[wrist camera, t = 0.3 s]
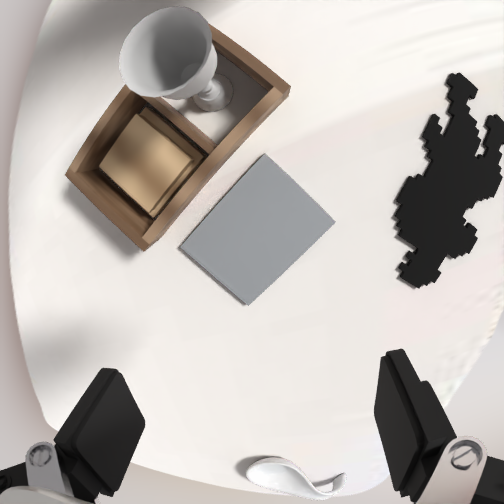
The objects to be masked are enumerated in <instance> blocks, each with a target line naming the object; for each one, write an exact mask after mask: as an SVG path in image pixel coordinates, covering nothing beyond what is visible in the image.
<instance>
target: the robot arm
mask: <svg viewBox="0 0 504 504" xmlns="http://www.w3.org/2000/svg"><path fill="white" fill-rule="evenodd" d="M374 416H375V420H376V424H377V427H378V430H379V434H380V438H381V441H382V445H383V448H384V452H385V456H386V460H387V463H388V467H389V471H390V475H391V479H392V483H393V487H394V490H395V491H400V494H401V497H405V496H408V495H409V496H410V500H411V501H412V502H414V504H504V461H503V460H500V459H496V458H493V457H489V456H487V450H486V447H485V445H484V444H483V443H482V442H481V441H480V440H479V439H477V438H475V437H471V436H462V437H458V438H457V436H456V434H455V432H454V430H453V428H452V426H451V424H450V422H449V420H448V418H447V416H446V414H445V412H444V410H443V408H442V406H441V404H440V402H439V400H438V398H437V396H436V394H435V392H434V390H433V388H432V387H431V385H430V383H429V382H428V381H422V382H421V381H420V379H419V377H418V376H417V374H416V372H415V370H414V368H413V366H412V364H411V362H410V360H409V358H408V357H407V355H406V353H405V351H404V350H403V349H398V350H392V351H387V352H386V355H385V356H383V357H381V361H380V370H379V378H378V385H377V393H376V399H375V406H374ZM144 428H145V419H144V417H143V415H142V413H141V412H140V410H139V408H138V406H137V404H136V402H135V400H134V398H133V396H132V394H131V392H130V390H129V388H128V386H127V384H126V382H125V379H124V377H123V375H122V374H121V373H119V371H118V370H117V369H112V368H102V369H101V370H100V371H99V372H98V374H97V375H96V377H95V378H94V380H93V381H92V383H91V384H90V385H89V387H88V388H87V390H86V391H85V393H84V394H83V396H82V397H81V399H80V400H79V402H78V403H77V405H76V406H75V408H74V409H73V411H72V412H71V414H70V415H69V417H68V418H67V420H66V421H65V423H64V424H63V426H62V427H61V429H60V430H59V432H58V434H57V435H56V437H55V438H54V442H55V443H56V444H55V446H53V445H52V444H50V443H48V442H39V443H37V444H35V445H33V446H32V447H31V448H30V449H29V450H28V452H27V454H26V462H24V463H21V464H18V465H16V466H13V467H10V468H7V469H4V470H1V471H0V504H100V502H99V499H98V494H99V492H100V493H101V494H103V495H107V496H110V497H113V495H114V492H115V491H117V490H118V489H119V487H120V485H121V483H122V480H123V478H124V475H125V473H126V470H127V468H128V466H129V463H130V461H131V458H132V456H133V454H134V451H135V449H136V447H137V444H138V442H139V439H140V437H141V435H142V432H143V430H144Z"/></svg>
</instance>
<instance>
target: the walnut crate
mask: <svg viewBox="0 0 504 504" xmlns="http://www.w3.org/2000/svg"><path fill="white" fill-rule="evenodd" d="M208 25H209V27H210V30H211V33H212V44H213V46H214V48H215V50H216V51H218V52H219V53H220V54H222V55H223V56H224V57H226V58H227V59H228V60H230V61H231V62H232V63H234V64H235V65H236V66H237V67H239V68H240V69H241V70H243V71H244V72H245V73H246V74H248V75H249V76H250V77H251V78H253V79H254V80H255V81H256V82H257V83H259V84H260V85H261V86H262V87H263V88H265V89H266V90H267V91H268V93H267V94H266V95H265V96H264V97H263V98H262V99H261V100H260V101H259V102H258V103H257V104H256V105H255V106H254V107H253V108H252V109H251V111H250V112H249V113H248V114H247V115H246V116H245V117H244V118H243V119H242V120H241V121H240V122H239V123H238V124H237V125H236V126H235V127H234V128H233V130H232V131H231V132H230V133H229V134H228V135H227V136H226V137H225V138H224V139H223V140H222V142H221V143H220V144H219V145H217V144H216V143H214V142H213V141H212V140H211V139H210V138H209V137H208V136H206V135H205V134H204V133H203V132H202V131H201V130H199V129H198V128H197V127H196V126H195V125H194V124H192V123H191V122H190V121H189V120H188V119H186V118H185V117H184V116H183V115H182V114H180V113H179V112H178V111H177V110H176V109H174V108H173V107H172V106H171V105H170V104H168V103H167V102H166V101H165V100H164V99H162V98H161V97H160V96H159V97H148V96H141V95H139V94H137V93H135V92H134V91H132V90H130V89H129V88H128V86H127V85H126V84H125V85H124V87H123V88H122V89H121V91H120V92H119V93H118V95H117V96H116V97H115V99H114V100H113V101H112V103H111V104H110V105H109V107H108V108H107V110H106V111H105V112H104V114H103V115H102V117H101V118H100V119H99V121H98V122H97V124H96V125H95V127H94V128H93V130H92V131H91V133H90V134H89V136H88V137H87V139H86V141H85V142H84V144H83V145H82V147H81V149H80V150H79V152H78V153H77V155H76V157H75V158H74V160H73V162H72V164H71V165H70V167H69V169H68V170H67V172H66V174H65V176H66V177H67V178H68V179H69V180H70V181H71V182H72V183H73V184H74V185H75V186H76V187H77V188H78V189H79V190H80V191H81V192H82V193H83V194H84V195H85V196H86V197H87V198H88V199H89V200H90V201H91V202H92V203H93V204H94V205H95V206H96V207H97V208H98V209H99V210H100V211H101V212H102V213H103V214H104V215H105V216H106V217H107V218H108V219H110V220H111V221H112V222H113V223H114V224H115V225H116V226H117V227H118V228H119V229H120V230H121V231H122V232H123V233H124V234H125V235H126V236H127V237H129V238H130V239H131V240H132V241H133V242H134V243H135V244H136V245H137V246H138V247H139V248H140V249H142V250H143V251H146V250H147V249H148V248H149V247H150V246H152V245H153V244H154V243H155V242H156V241H158V240H159V239H160V238H161V237H162V236H163V235H164V233H165V232H166V231H167V230H168V229H169V227H170V226H171V225H172V224H173V222H174V221H175V220H176V219H177V218H178V216H179V215H180V214H181V213H182V212H183V210H184V209H185V208H186V207H187V206H188V204H189V203H190V202H191V201H192V200H193V198H194V197H195V196H196V195H197V194H198V193H199V191H200V190H201V189H202V188H203V187H204V186H205V185H206V183H207V182H208V181H209V180H210V179H211V178H212V177H213V175H214V174H215V173H216V172H217V171H218V170H219V169H220V168H221V166H222V165H223V164H224V163H225V162H226V161H227V160H228V159H229V158H230V157H231V155H232V154H233V153H234V152H235V151H236V150H237V149H238V148H239V147H240V146H241V145H242V144H243V142H244V141H245V140H246V139H247V138H248V137H249V136H250V135H251V134H252V133H253V132H254V131H255V130H256V129H257V128H258V127H259V126H260V125H261V123H262V122H263V121H264V120H265V119H266V118H267V117H268V116H269V115H270V114H271V113H272V112H273V111H274V110H275V109H276V108H277V107H278V106H279V105H280V104H281V103H282V102H283V101H284V100H285V99H286V98H287V97H288V96H289V92H290V88H291V86H290V85H289V84H287V83H286V82H285V81H284V80H283V79H282V78H280V77H279V76H278V75H277V74H276V73H274V72H273V71H272V70H271V69H269V68H268V67H267V66H266V65H264V64H263V63H262V62H261V61H259V60H258V59H257V58H256V57H254V56H253V55H252V54H250V53H249V52H248V51H246V50H245V49H244V48H242V47H241V46H240V45H238V44H237V43H236V42H234V41H233V40H232V39H230V38H229V37H227V36H226V35H225V34H223V33H222V32H220V31H219V30H217V29H216V28H214V27H213V26H212V25H210V24H209V23H208ZM147 102H149V103H150V104H151V105H152V106H153V107H155V108H156V109H157V110H158V111H159V112H161V113H162V114H163V115H164V116H165V117H166V118H168V119H169V120H170V121H171V122H172V123H174V124H175V125H176V126H177V127H178V128H179V129H181V130H182V131H183V132H184V133H185V134H186V135H188V136H189V137H190V138H191V139H192V140H193V141H195V142H196V143H197V144H198V145H199V146H200V147H201V148H203V149H204V150H205V151H206V152H207V153H208V154H209V156H208V157H207V158H206V160H205V161H204V162H203V163H202V164H201V165H200V166H199V168H198V169H197V170H196V171H195V172H194V173H193V175H192V176H191V177H190V178H189V179H188V181H187V182H186V183H185V184H184V185H183V187H182V188H181V189H180V190H179V191H178V193H177V194H176V195H175V196H174V198H173V199H172V200H171V201H170V202H169V204H168V205H167V206H166V207H165V209H164V210H163V211H162V213H161V214H160V215H159V216H158V218H157V219H156V220H155V221H154V220H153V219H152V218H151V217H150V216H149V215H148V214H147V213H146V212H145V211H143V210H142V209H141V208H140V207H139V206H138V205H137V204H136V203H135V202H134V201H133V200H132V199H130V198H129V197H128V196H127V195H126V194H125V193H124V192H123V191H122V190H121V189H120V188H119V187H118V186H117V185H116V184H114V183H113V182H112V181H111V180H110V179H109V178H108V177H107V176H106V175H105V174H104V173H103V172H102V171H101V170H100V169H99V168H100V167H99V165H100V164H101V162H102V161H103V159H104V158H105V156H106V155H107V153H108V152H109V150H110V149H111V147H112V146H113V144H114V143H115V142H116V140H117V139H118V137H119V136H120V134H121V133H122V132H123V130H124V129H125V128H126V126H127V125H128V124H129V122H130V121H131V120H132V118H133V117H134V116H135V114H139V112H140V111H141V110H142V108H143V107H144V106H145V105H146V103H147Z"/></svg>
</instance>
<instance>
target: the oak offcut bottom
mask: <svg viewBox="0 0 504 504" xmlns="http://www.w3.org/2000/svg"><path fill="white" fill-rule="evenodd" d="M140 115H143V116H144V117H145V118H147V119H148V120H149V121H150V122H151V123H152V124H154V125H155V126H156V127H157V128H158V129H159V130H161V131H162V132H163V133H164V134H165V135H167V136H168V137H169V138H170V139H171V140H172V141H173V142H175V143H176V144H177V145H178V146H179V147H180V148H182V149H183V150H184V151H185V152H186V153H187V154H189V155H190V156H191V157H192V158H193V159H194V161H193V162H192V164H191V165H190V166H189V167H188V168H187V170H186V171H185V172H184V173H183V174H182V176H181V177H180V178H179V179H178V181H177V182H176V183H175V184H174V185H173V187H172V188H171V189H170V190H169V192H168V193H167V194H166V196H165V197H164V198H163V199H162V201H161V202H160V203H159V204H158V206H157V207H156V208H155V209H154V210H153V211H151V212H148V211H147V210H146V209H144V208H143V207H142V206H141V205H140V204H139V203H138V202H137V201H136V200H135V199H133V198H132V197H131V196H130V195H129V194H128V193H127V192H126V191H125V190H124V189H123V188H122V187H121V186H119V185H118V184H117V183H116V182H115V181H114V180H113V179H112V178H111V177H110V176H109V175H108V174H107V173H106V172H105V171H104V172H105V173H106V174H107V175H108V176H109V177H110V178H111V179H112V180H113V181H114V182H115V183H116V184H117V185H118V186H119V187H120V188H122V189H123V190H124V191H125V192H126V193H127V194H128V195H129V196H130V197H131V198H132V199H133V200H134V201H135V202H137V203H138V204H139V205H140V206H141V207H142V208H143V209H144V210H145V211H146V212H147V213H149V214H150V215H151V216H152V217H153V218H154V217H156V216H157V215H159V214H160V212H161V211H162V210H163V209H164V207H165V206H166V205H167V204H168V202H169V201H170V200H171V199H172V197H173V196H174V195H175V194H176V192H177V191H178V190H179V189H180V188H181V186H182V185H183V184H184V183H185V182H186V180H187V179H188V178H189V177H190V176H191V174H192V173H193V172H194V171H195V170H196V169H197V167H198V166H199V165H200V164H201V163H202V162H203V160H204V159H205V158H206V157H207V156H206V155H205V154H204V153H203V152H202V151H200V150H199V149H198V148H197V147H196V146H195V145H194V144H192V143H191V142H190V141H189V140H188V139H187V138H185V137H184V136H183V135H182V134H181V133H180V132H178V131H177V130H176V129H175V128H174V127H173V126H171V125H170V124H169V123H168V122H167V121H165V120H164V119H163V118H162V117H161V116H160V115H158V114H157V113H156V112H155V111H154V110H152V109H151V108H148V107H145V108H144V109H143V111H142V112H141V113H140ZM101 170H102V169H101Z"/></svg>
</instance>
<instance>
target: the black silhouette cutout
mask: <svg viewBox="0 0 504 504" xmlns="http://www.w3.org/2000/svg"><path fill="white" fill-rule="evenodd" d="M447 84H448V85H449V86H450V87H451V90H450V92H449V94H448V97H447V98H449V99H450V100H451V101H452V103H451V105H450V108H449V110H448V113H450V114H451V115H452V118H451V120H450V123H449V125H448V127H447V129H446V131H445V134H444V136H443V135H442V134H440V132H441V130H442V127H441V126H440V125H439V124H438V122H439V119H440V118H439V117H438V116H437V115H436V114H433V115H432V117H431V119H430V121H429V123H428V125H427V127H426V129H425V131H424V134H423V136H422V137H423V138H425V139H426V140H427V142H426V144H425V147H426V148H427V149H429V152H428V155H427V157H429V158H430V159H431V160H432V161H431V163H430V164H429V166H428V168H427V170H426V172H425V174H424V176H422V175H420V174H417V176H416V178H415V179H414V178H413V177H411V176H409V177H408V179H407V181H406V183H405V185H404V187H403V188H402V190H401V192H400V194H399V196H398V198H397V199H396V201H398V202H399V203H401V205H400V207H399V209H398V211H397V212H396V214H395V217H397V218H398V219H400V220H399V222H398V223H397V225H396V226H398V227H399V228H401V230H400V232H399V234H398V235H399V236H400V237H402V238H403V239H405V240H406V241H408V242H409V243H411V244H412V245H414V246H415V247H416V248H417V249H416V251H415V252H414V253H412V252H411V251H408V253H407V255H406V257H407V258H408V259H410V260H409V262H408V264H407V265H406V264H405V263H403V262H402V263H401V264H400V266H399V267H398V268H399V269H400V270H402V273H401V274H400V277H401V278H402V279H404V280H406V281H407V282H409V283H410V284H412V285H414V286H415V287H417V288H420V287H421V285H422V284H424V285H426V286H427V285H428V284H429V282H430V281H432V282H433V283H435V282H436V280H437V279H438V277H439V276H440V274H441V272H440V271H439V270H438V268H439V267H440V265H441V263H442V262H443V260H444V258H445V257H446V255H447V253H448V254H449V255H450V256H452V257H453V258H454V259H456V257H457V256H458V254H459V255H460V256H463V255H464V253H465V252H466V253H468V254H469V253H470V252H471V250H472V248H473V246H474V244H475V243H476V241H477V239H478V238H477V237H476V236H475V233H476V231H477V229H476V228H475V227H474V226H473V225H472V224H470V223H467V225H466V227H465V226H463V225H464V224H465V222H466V219H465V218H463V215H464V213H465V211H466V209H467V207H469V208H471V209H472V208H473V206H474V204H475V202H476V200H477V199H478V200H479V201H482V199H483V197H484V198H485V199H487V200H488V198H489V196H491V197H493V198H494V196H495V193H496V191H497V189H498V187H499V185H500V182H501V180H502V178H503V177H502V175H501V174H500V171H501V169H502V168H501V167H500V166H499V165H498V164H499V161H500V159H501V157H502V153H501V152H500V151H499V149H500V146H501V144H502V143H503V144H504V121H503V120H502V119H501V118H500V117H499V116H498V115H497V114H495V115H494V117H493V116H492V115H489V116H488V119H487V121H486V124H485V125H486V126H487V127H488V128H489V130H488V133H487V135H486V138H485V140H484V142H483V145H484V146H485V147H486V151H485V153H484V156H482V155H481V154H478V156H477V158H476V157H475V154H476V152H477V149H478V147H479V145H480V142H481V139H480V138H479V137H478V133H479V130H478V129H477V128H476V127H475V126H476V124H477V121H476V120H475V119H474V118H473V117H472V116H471V115H470V114H469V111H470V109H471V108H470V107H468V106H467V105H466V103H467V101H468V98H469V97H470V98H471V99H475V96H476V94H477V91H478V89H477V88H476V87H475V86H474V85H473V84H472V83H471V82H470V81H469V80H468V79H467V78H465V77H464V76H463V75H462V74H461V73H457V75H455V74H453V73H451V74H450V76H449V79H448V81H447Z"/></svg>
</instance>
